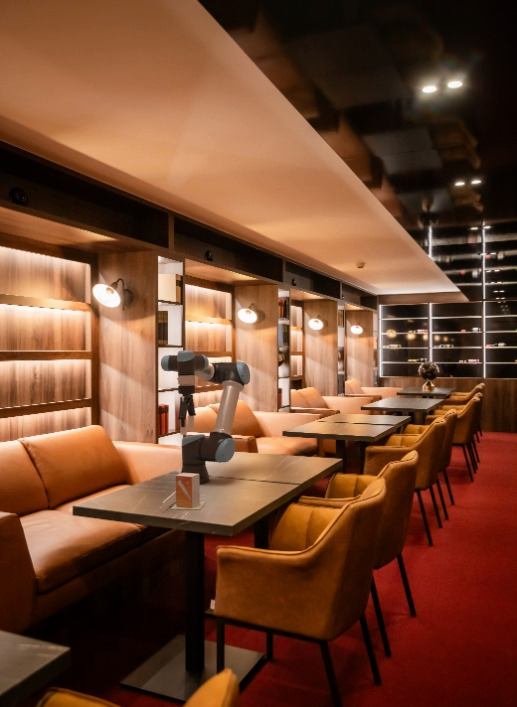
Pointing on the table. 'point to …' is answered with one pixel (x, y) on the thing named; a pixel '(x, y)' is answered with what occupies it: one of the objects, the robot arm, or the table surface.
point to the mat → (188, 507)
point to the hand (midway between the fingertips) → (187, 432)
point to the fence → (169, 501)
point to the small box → (187, 490)
